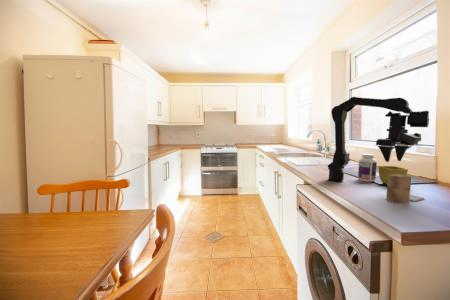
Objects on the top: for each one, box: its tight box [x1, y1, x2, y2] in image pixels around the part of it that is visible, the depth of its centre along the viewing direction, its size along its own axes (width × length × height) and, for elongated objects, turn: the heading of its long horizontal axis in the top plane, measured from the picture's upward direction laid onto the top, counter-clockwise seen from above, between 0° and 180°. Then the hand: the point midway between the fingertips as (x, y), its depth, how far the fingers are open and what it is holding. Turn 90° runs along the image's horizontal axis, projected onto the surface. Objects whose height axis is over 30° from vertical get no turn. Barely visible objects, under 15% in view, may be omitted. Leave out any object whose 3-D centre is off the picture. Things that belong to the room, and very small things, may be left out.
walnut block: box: [385, 174, 412, 204], centre depth 86 cm, size 5×5×10 cm
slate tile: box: [409, 194, 425, 203], centre depth 91 cm, size 8×8×1 cm
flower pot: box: [378, 165, 409, 185], centre depth 111 cm, size 9×9×9 cm
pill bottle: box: [357, 153, 378, 183], centre depth 120 cm, size 8×8×14 cm
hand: (393, 161), depth 101 cm, fingers open, 9 cm apart
